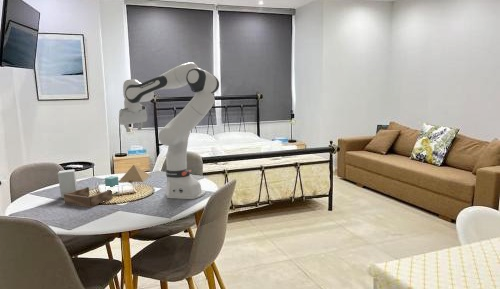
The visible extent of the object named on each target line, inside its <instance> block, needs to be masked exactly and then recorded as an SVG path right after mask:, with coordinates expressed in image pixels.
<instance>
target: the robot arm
mask: <svg viewBox="0 0 500 289" xmlns="http://www.w3.org/2000/svg"><path fill="white" fill-rule="evenodd" d="M187 85H188V86H189V88H190V91H191V92H193V93H194V96H193V97H192V98H191V99H190V101H189V102H188V103H187V104H186V105H185V106H184V108H182V109H181V111H179V113H178V114H176V115H175V117H173V118H172V119H171V120H170V121H168V122H167V124H166V125H165V126H164V127H163V128H162V129H161V130H160V131H159V132H158V140H159V142H160V143H161V144H162V145H164V146H167V150H166V151H167V152H166V154H165V162H166V163H165V164H166V170H165V176H166V189H165V197H166V198H167V199H178V200H179V199H180V200H195V199H198V198H201V197H203V196H204V195H206V190H203V189H202V186H201V183H200V181H198V180H197V179H196V178H194V176H192V175H191V172H192V169H189V168H188V161H187V160H188V159H187V152H188V143H189V137H190V136H191V133H190V132H191V131H192V130H193V129H194V128H196V127H197V125H199V123H201V121H202V120H203V119H204V118H205V116H206V115H207V114H208V113H209V112H210V110H211V109H212V107H213V105H214V104H215V100H216V99H215V96H214V95H213V94H215V93H216V92H217V91H218V90H219V88H220V82H219V79H218V78H217V77H216V75H213V74H212V73H210V72H209V71H207V70H204V69H202V68H199V67H198V65H197V63H195V62H192V61H191V62H186V63H182V64H180V65H177V66H175V67H173V68H171V69H170V70H167V71H166V72H164V73H162V74H160V75H158V76H156V77H153V78H151V79H149V80H146V81H144V82H140V81H139V80H138V79H135V78H133V79H126V80H124V81H123V86H122V92H123V94H122V95H123V97H124V101H123V102H124V103H123V104H124V105H123V106H124V108H121V109H119V113H118V124H119V125H121V126H124V128H125V129H126V130H125V131H126V133H130V132H131V128H130V125H132V124H133V125H134V124H138V127H137V131H142V130H143V129H142V127H143V125H144V124H143V123H147V121H148V113H147V106H146V105H143V104H141V103H143V102H144V103H146V102H150V101H152V100H153V99H154V97H155V92H156V91H159V90H175V89H180V88H183V87H185V86H187Z"/></svg>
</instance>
